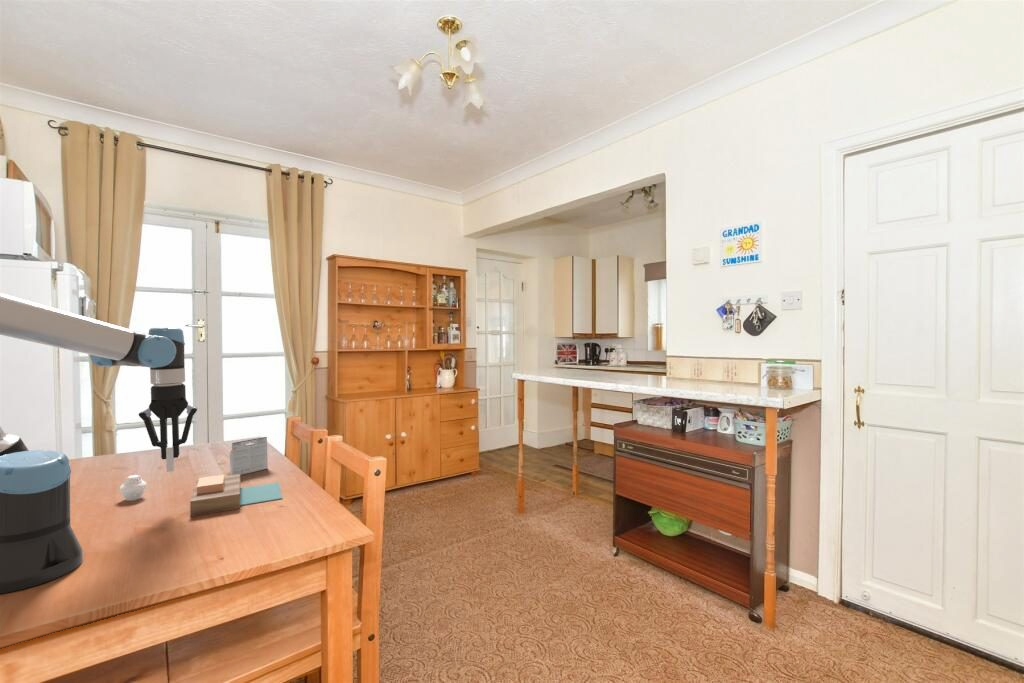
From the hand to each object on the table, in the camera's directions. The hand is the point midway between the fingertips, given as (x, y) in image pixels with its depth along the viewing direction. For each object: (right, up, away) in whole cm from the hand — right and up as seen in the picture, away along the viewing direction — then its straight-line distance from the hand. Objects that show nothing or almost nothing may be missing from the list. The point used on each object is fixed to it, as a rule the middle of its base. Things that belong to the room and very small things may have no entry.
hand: (170, 470), depth 124 cm
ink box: (+3, -10, +32) cm, 34 cm away
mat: (+18, -10, +11) cm, 24 cm away
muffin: (-16, -11, +7) cm, 20 cm away
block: (+8, -6, +5) cm, 11 cm away
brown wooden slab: (+9, -10, +5) cm, 15 cm away
